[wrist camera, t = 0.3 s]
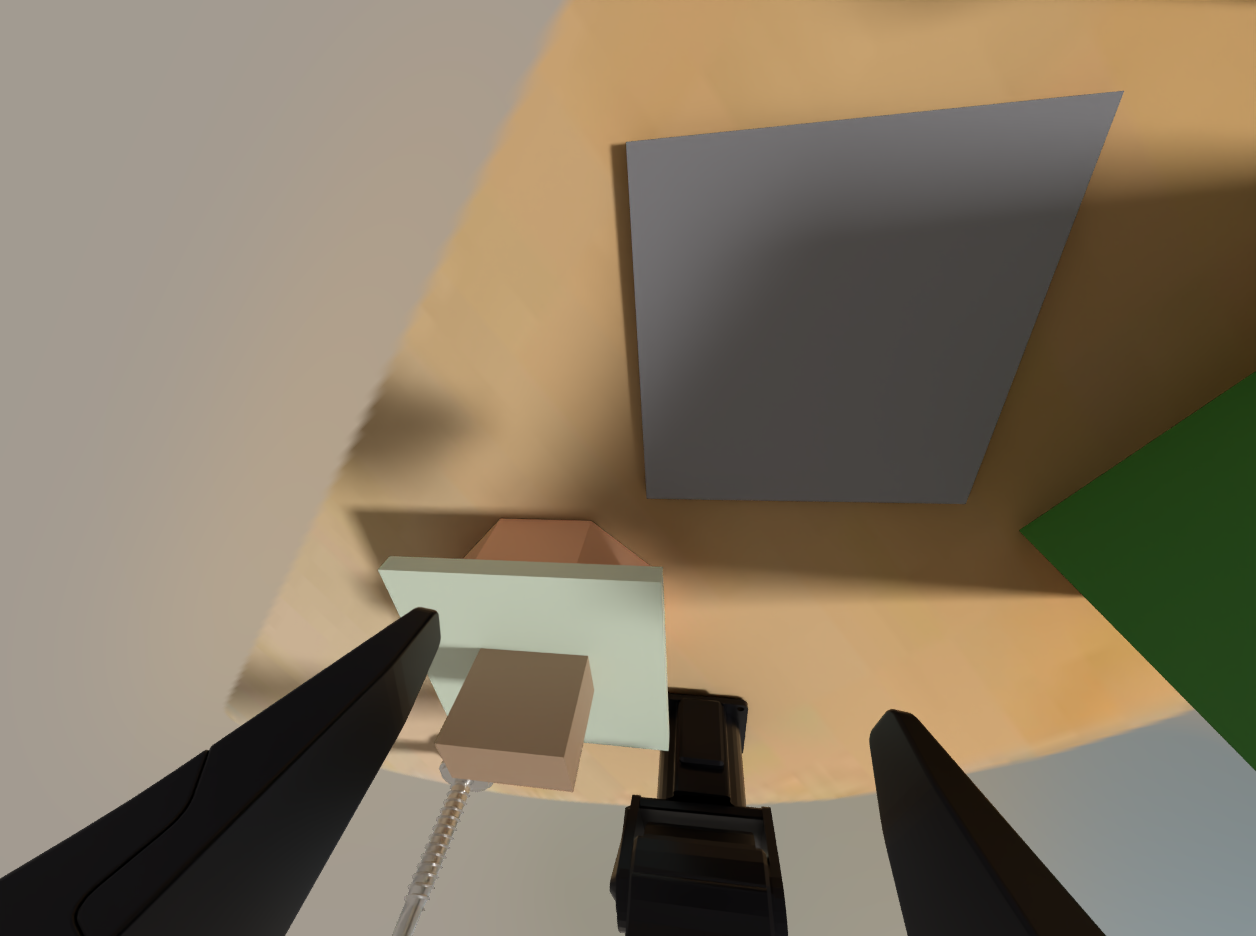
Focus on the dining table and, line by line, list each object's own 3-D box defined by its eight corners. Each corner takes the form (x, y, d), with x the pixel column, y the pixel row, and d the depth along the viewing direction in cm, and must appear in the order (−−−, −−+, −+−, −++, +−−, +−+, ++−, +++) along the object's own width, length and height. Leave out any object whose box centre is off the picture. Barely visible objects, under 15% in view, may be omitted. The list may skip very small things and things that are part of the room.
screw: (448, 754, 42) (453, 729, 39) (498, 769, 42) (505, 745, 39) (359, 955, 30) (356, 937, 28) (427, 974, 31) (431, 958, 28)
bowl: (665, 671, 31) (661, 729, 28) (489, 658, 33) (465, 710, 30) (658, 522, 24) (652, 574, 21) (439, 516, 26) (401, 563, 23)
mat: (959, 496, 21) (965, 504, 21) (647, 492, 23) (646, 498, 23) (1108, 94, 14) (1124, 90, 13) (628, 143, 16) (625, 142, 15)
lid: (669, 734, 28) (663, 854, 23) (460, 714, 30) (411, 820, 25) (662, 566, 21) (651, 685, 16) (389, 556, 23) (301, 658, 18)
